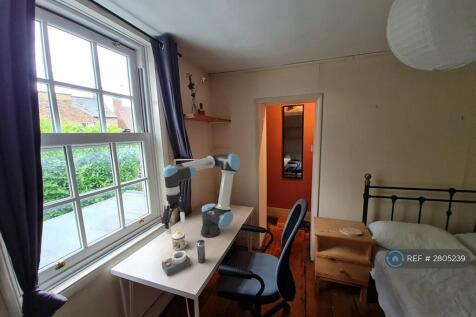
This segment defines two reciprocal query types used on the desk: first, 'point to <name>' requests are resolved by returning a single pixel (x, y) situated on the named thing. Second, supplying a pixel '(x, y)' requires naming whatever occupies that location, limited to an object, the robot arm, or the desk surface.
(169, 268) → the camera body
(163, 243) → the desk surface
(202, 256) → the grey flashlight
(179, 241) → the teacup with lid
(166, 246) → the desk surface
